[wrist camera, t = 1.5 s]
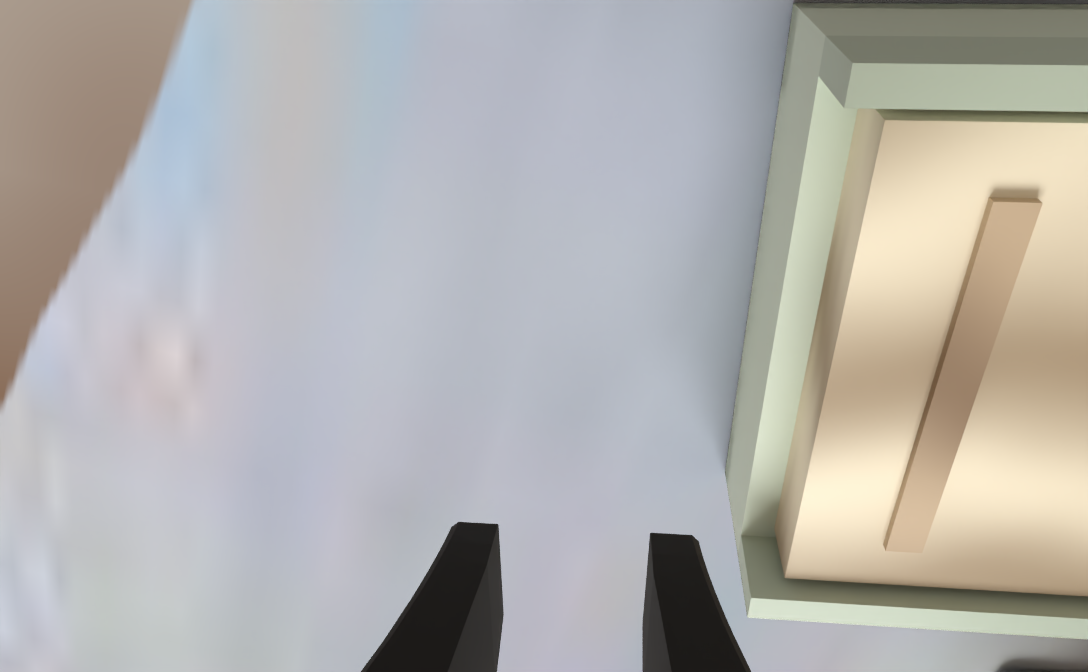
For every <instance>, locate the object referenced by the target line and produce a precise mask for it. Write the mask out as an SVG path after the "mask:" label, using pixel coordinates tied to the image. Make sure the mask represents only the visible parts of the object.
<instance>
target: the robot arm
mask: <svg viewBox="0 0 1088 672" xmlns="http://www.w3.org/2000/svg"><path fill="white" fill-rule="evenodd" d="M502 623H503V598H502V580H501V563H500V545H499V528H498V524H485V523H467V522H458V523H457V524H455V525H454V526H452V527H451V529H450V532H449V534H448V536H447V538H446V540H445V542H444V544H443V545H442V547H441V549H440V551H439V553H438V555H437V557H436V558H435V560H434V562H433V564H432V565H431V567H430V569H429V571H428V572H427V574H426V576H425V577H424V579H423V581H422V582H421V584H420V586H419V587H418V589H417V591H416V592H415V594H414V595H413V597H412V599H411V600H410V602H409V603H408V605H407V606H406V608H405V609H404V611H403V612H402V614H401V615H400V617H399V618H398V620H397V621H396V623H395V624H394V626H393V627H392V629H391V630H390V632H389V633H388V635H387V636H386V638H385V639H384V641H383V642H382V644H381V645H380V647H379V648H378V649H377V651H376V652H375V653H374V655H373V656H372V657H371V659H370V660H369V661H368V663H367V664H366V665H365V667H364V668H363V670H362V671H361V672H497V665H498V657H499V649H500V640H501V632H502ZM643 672H751V670H750V668H749V666H748V664H747V662H746V660H745V658H744V656H743V654H742V652H741V650H740V647H739V645H738V643H737V641H736V639H735V637H734V635H733V633H732V631H731V628H730V626H729V624H728V622H727V619H726V617H725V615H724V612H723V610H722V607H721V605H720V602H719V600H718V598H717V595H716V593H715V590H714V587H713V585H712V582H711V580H710V577H709V574H708V571H707V568H706V565H705V562H704V559H703V556H702V552H701V549H700V545H699V541H698V540H696V539H695V538H694V537H693V536H692V535H679V534H661V533H650V542H649V554H648V566H647V578H646V590H645V601H644V613H643Z"/></svg>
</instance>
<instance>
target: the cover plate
mask: <svg viewBox="0 0 1088 672" xmlns="http://www.w3.org/2000/svg"><path fill="white" fill-rule="evenodd" d="M774 530H775V535H776V540H777V544H778V549H779V554H780V558H781V563H782V568H783V572H784V577H785V578H791V579H807V580H824V581H840V582H857V583H873V584H890V585H906V586H923V587H939V588H956V589H972V590H989V591H1006V592H1022V593H1039V594H1055V595H1072V596H1088V112H1062V111H993V110H923V109H858V110H857V115H856V120H855V125H854V130H853V135H852V141H851V146H850V151H849V156H848V161H847V166H846V171H845V176H844V181H843V186H842V191H841V196H840V201H839V206H838V211H837V216H836V221H835V226H834V231H833V236H832V241H831V246H830V251H829V256H828V261H827V266H826V271H825V276H824V281H823V286H822V291H821V296H820V301H819V306H818V311H817V316H816V321H815V326H814V331H813V336H812V341H811V346H810V351H809V357H808V362H807V367H806V372H805V377H804V382H803V387H802V392H801V397H800V402H799V407H798V412H797V417H796V422H795V427H794V432H793V437H792V442H791V447H790V452H789V457H788V462H787V467H786V472H785V477H784V482H783V487H782V492H781V497H780V502H779V507H778V512H777V517H776V522H775V527H774Z"/></svg>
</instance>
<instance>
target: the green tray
mask: <svg viewBox="0 0 1088 672" xmlns="http://www.w3.org/2000/svg"><path fill="white" fill-rule="evenodd" d="M858 109H923V110H993V111H1062V112H1088V4H916V3H793V9H792V16H791V23H790V29H789V36H788V43H787V50H786V57H785V64H784V71H783V77H782V84H781V91H780V98H779V105H778V112H777V119H776V125H775V132H774V139H773V146H772V153H771V160H770V167H769V174H768V180H767V187H766V194H765V201H764V208H763V215H762V222H761V228H760V235H759V242H758V249H757V256H756V263H755V270H754V277H753V283H752V290H751V297H750V304H749V311H748V318H747V325H746V331H745V338H744V345H743V352H742V359H741V366H740V373H739V380H738V386H737V393H736V400H735V407H734V414H733V421H732V428H731V434H730V441H729V448H728V455H727V462H726V469H725V475H726V482H727V488H728V495H729V501H730V508H731V514H732V521H733V527H734V534H735V540H736V547H737V553H738V560H739V566H740V573H741V579H742V586H743V592H744V599H745V605H746V612H747V618H762V619H778V620H793V621H809V622H824V623H840V624H855V625H871V626H886V627H902V628H917V629H933V630H948V631H964V632H979V633H994V634H1010V635H1025V636H1041V637H1056V638H1072V639H1087V640H1088V596H1072V595H1055V594H1039V593H1022V592H1006V591H989V590H972V589H956V588H939V587H923V586H906V585H890V584H873V583H857V582H840V581H824V580H807V579H791V578H785V577H784V572H783V568H782V563H781V558H780V554H779V549H778V544H777V540H776V535H775V530H774V527H775V522H776V517H777V512H778V507H779V502H780V497H781V492H782V487H783V482H784V477H785V472H786V467H787V462H788V457H789V452H790V447H791V442H792V437H793V432H794V427H795V422H796V417H797V412H798V407H799V402H800V397H801V392H802V387H803V382H804V377H805V372H806V367H807V362H808V357H809V351H810V346H811V341H812V336H813V331H814V326H815V321H816V316H817V311H818V306H819V301H820V296H821V291H822V286H823V281H824V276H825V271H826V266H827V261H828V256H829V251H830V246H831V241H832V236H833V231H834V226H835V221H836V216H837V211H838V206H839V201H840V196H841V191H842V186H843V181H844V176H845V171H846V166H847V161H848V156H849V151H850V146H851V141H852V135H853V130H854V125H855V120H856V115H857V110H858Z"/></svg>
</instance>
